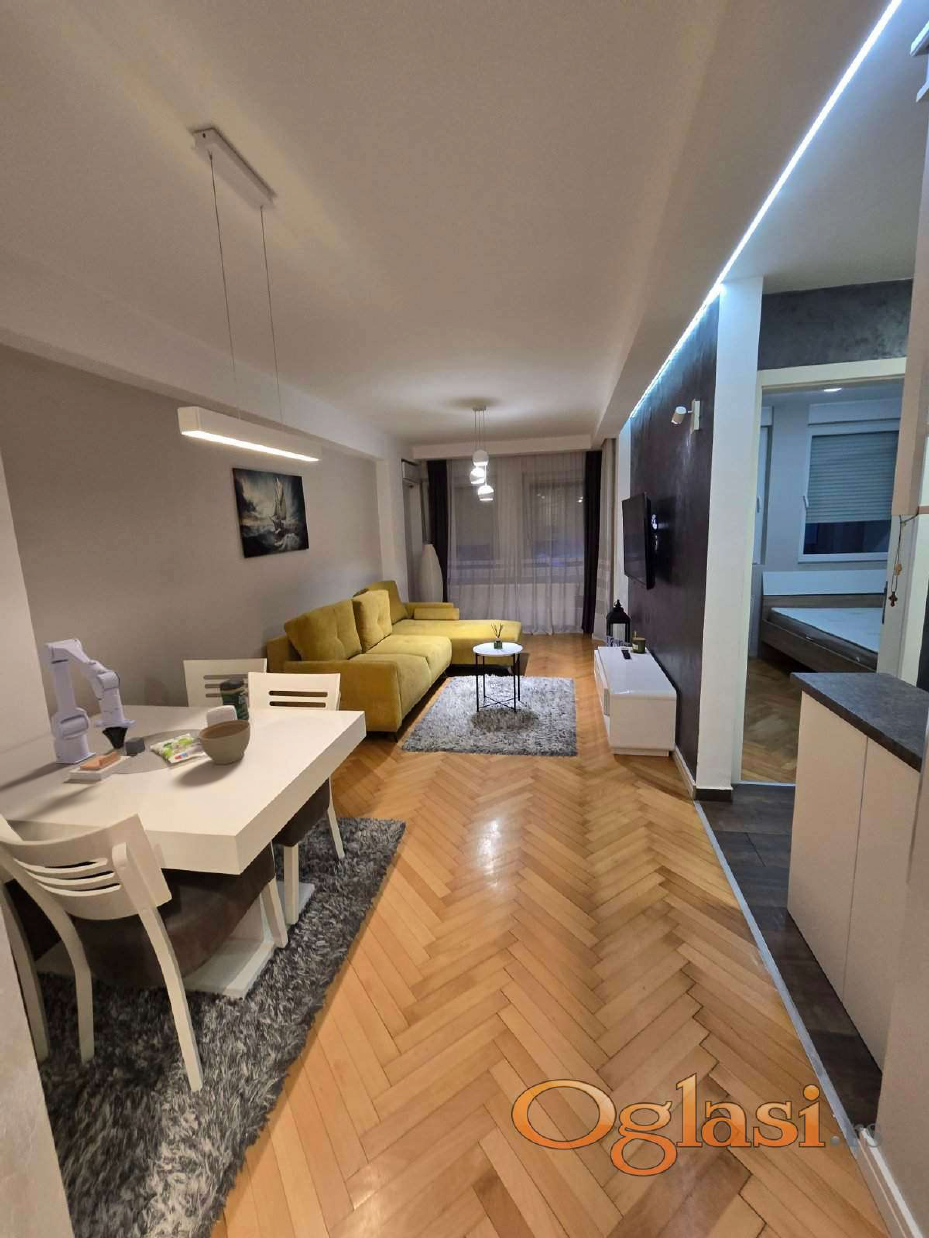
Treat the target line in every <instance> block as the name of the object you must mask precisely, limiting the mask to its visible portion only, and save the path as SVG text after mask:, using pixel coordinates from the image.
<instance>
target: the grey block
mask: <svg viewBox="0 0 929 1238" xmlns="http://www.w3.org/2000/svg"><path fill="white" fill-rule="evenodd" d="M124 747H125V750H126V754H132V755H131V756H137V754H138V753H140V754H141V753H143V752H145V751H146V750H145V749H146V745H145V739H144V737H142V736H140V737H131V738H129V739H128V740H126V741H124ZM144 750H145V751H144ZM138 755H139V754H138Z"/></svg>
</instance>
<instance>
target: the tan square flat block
mask: <svg viewBox="0 0 929 1238" xmlns="http://www.w3.org/2000/svg"><path fill="white" fill-rule="evenodd" d="M121 756H122V755H119V754H118V751H113V752H111V753H108V754H106V755H104V754H103V755H102V754H101V755H99V756H97V757H94V758H93V759H91V760H89V761H87V762H85V763H83V764H80V765H79V766H78V767H80V768H83V769H101V768H103V767H105V766H107V765H109V764H111V763H113V762H114V761H116V760H118V759H120V758H121Z"/></svg>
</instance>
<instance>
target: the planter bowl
mask: <svg viewBox="0 0 929 1238" xmlns="http://www.w3.org/2000/svg"><path fill="white" fill-rule="evenodd" d="M197 738H198V741H199V744H200V747H201V749H202V750H203V752H204V753H205V754H206V755H207V756H208V757H209V759H210V758H211V760H213V763H214V764H216V765H229V764H232V763H234V762H237V761H239V760H241V759H242V758H243V757H244V756H245V752H246V750H247V748H248V745H249V742H250V739H251V723H250V721H249V720H247V721H245V720H229V721H224V722H220V723H216V724H213V725H211V726H208V725H207V726H206V727H204V728H202V729H201V730H200V731H199V732H198V733H197Z"/></svg>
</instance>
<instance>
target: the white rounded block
mask: <svg viewBox="0 0 929 1238" xmlns="http://www.w3.org/2000/svg"><path fill="white" fill-rule="evenodd" d="M205 716H206V723H207V727H208V726H211V725H213V724H216V723H220V722H224V721H229V720H237V715H236V710H235V708H234V706H231V705H226V706H223V705H220V706H217V707H213V708H210V709H209V710H207V712H206V715H205Z"/></svg>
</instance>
